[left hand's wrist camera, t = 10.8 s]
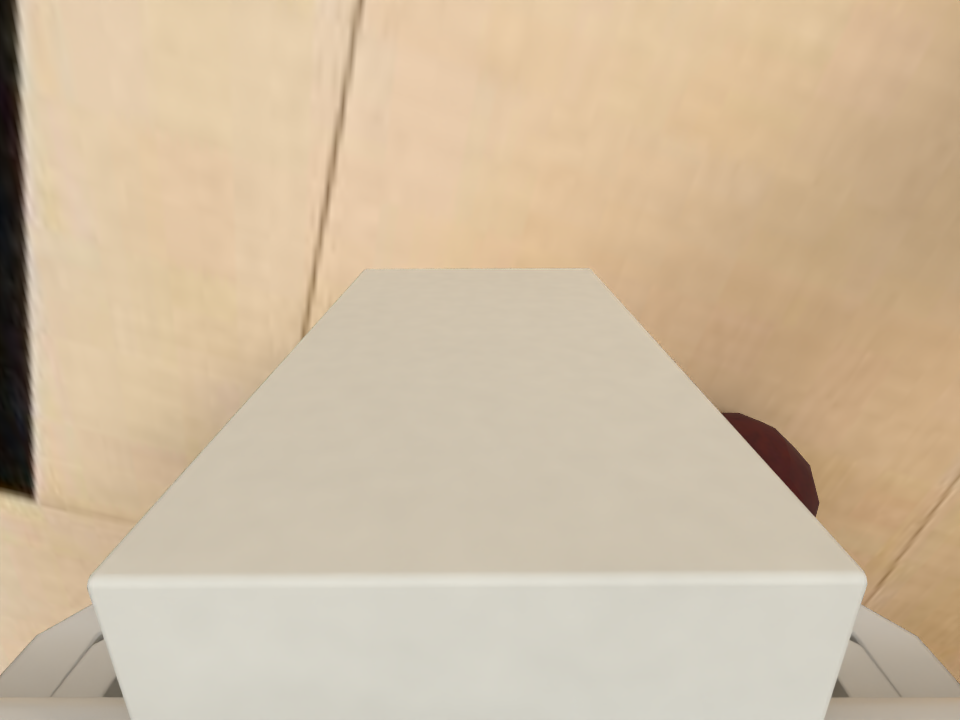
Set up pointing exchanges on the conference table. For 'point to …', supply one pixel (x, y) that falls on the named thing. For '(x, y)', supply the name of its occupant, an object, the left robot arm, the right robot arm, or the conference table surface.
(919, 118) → the conference table surface
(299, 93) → the conference table surface
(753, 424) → the dark red ball
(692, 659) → the box
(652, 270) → the conference table surface
